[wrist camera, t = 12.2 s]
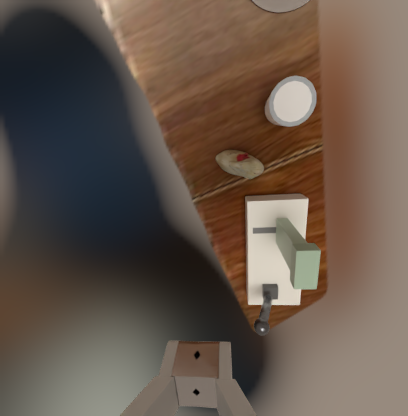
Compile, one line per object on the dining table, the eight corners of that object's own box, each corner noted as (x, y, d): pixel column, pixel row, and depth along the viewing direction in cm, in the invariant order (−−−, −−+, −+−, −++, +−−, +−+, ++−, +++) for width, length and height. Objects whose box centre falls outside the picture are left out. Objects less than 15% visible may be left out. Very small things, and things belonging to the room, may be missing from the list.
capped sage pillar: (273, 216, 40) (296, 250, 27) (290, 215, 39) (320, 250, 27) (273, 244, 42) (293, 289, 29) (288, 244, 41) (316, 289, 29)
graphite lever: (262, 289, 44) (252, 324, 36) (275, 292, 43) (268, 329, 35) (262, 299, 44) (252, 335, 37) (275, 302, 43) (267, 340, 35)
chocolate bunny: (242, 185, 43) (248, 198, 33) (212, 160, 42) (209, 167, 32) (261, 163, 41) (273, 170, 32) (230, 137, 40) (232, 137, 31)
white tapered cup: (303, 86, 36) (321, 74, 30) (297, 128, 39) (312, 126, 32) (263, 86, 37) (271, 75, 30) (259, 128, 39) (266, 126, 33)
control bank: (245, 196, 43) (247, 203, 38) (300, 193, 42) (311, 200, 37) (246, 292, 51) (249, 308, 46) (293, 292, 50) (301, 309, 45)
